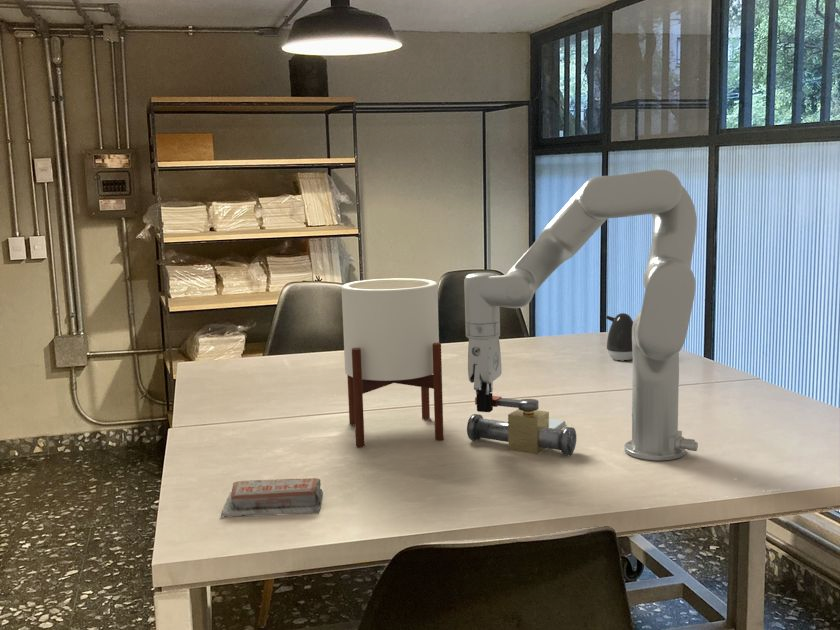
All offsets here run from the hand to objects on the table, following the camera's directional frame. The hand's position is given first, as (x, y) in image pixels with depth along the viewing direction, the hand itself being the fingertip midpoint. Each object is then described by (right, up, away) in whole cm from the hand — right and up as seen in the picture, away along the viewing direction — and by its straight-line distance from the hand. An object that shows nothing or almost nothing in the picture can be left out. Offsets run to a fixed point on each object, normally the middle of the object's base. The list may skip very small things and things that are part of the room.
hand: (484, 410), depth 189 cm
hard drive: (+14, -7, +14) cm, 21 cm away
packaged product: (-42, -15, -29) cm, 53 cm away
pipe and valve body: (+8, -8, +1) cm, 11 cm away
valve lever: (+5, +1, +1) cm, 5 cm away
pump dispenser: (+51, +7, +87) cm, 102 cm away
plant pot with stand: (-20, -7, +16) cm, 27 cm away
